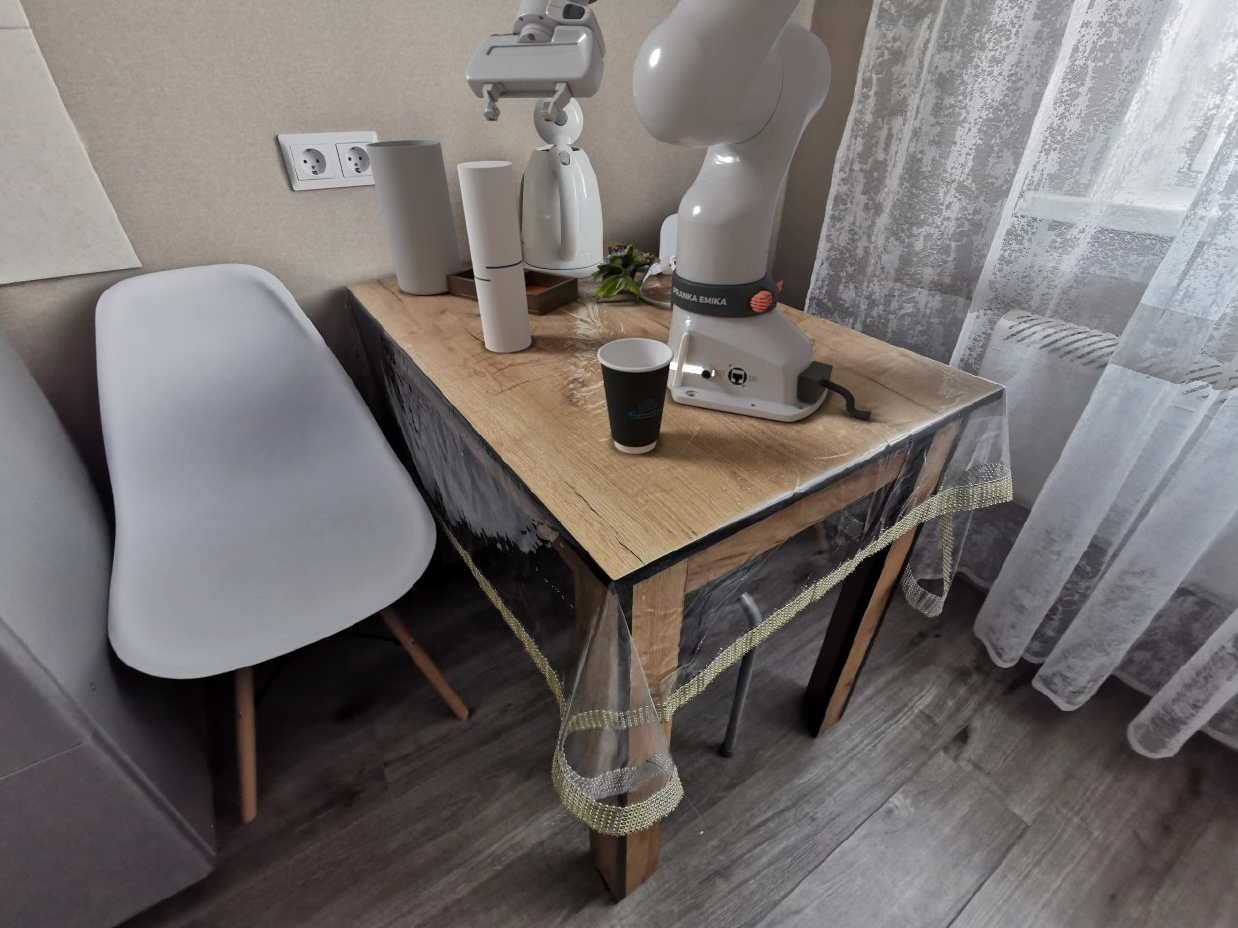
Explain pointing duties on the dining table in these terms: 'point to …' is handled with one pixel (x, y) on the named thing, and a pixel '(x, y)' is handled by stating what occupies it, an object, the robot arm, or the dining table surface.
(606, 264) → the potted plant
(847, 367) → the dining table surface
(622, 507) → the dining table surface
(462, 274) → the tray
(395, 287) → the dining table surface
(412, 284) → the cylinder vase
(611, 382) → the dixie cup
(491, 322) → the cylindrical container
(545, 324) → the dining table surface
